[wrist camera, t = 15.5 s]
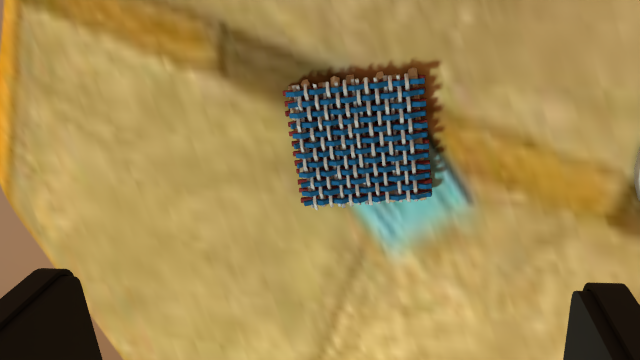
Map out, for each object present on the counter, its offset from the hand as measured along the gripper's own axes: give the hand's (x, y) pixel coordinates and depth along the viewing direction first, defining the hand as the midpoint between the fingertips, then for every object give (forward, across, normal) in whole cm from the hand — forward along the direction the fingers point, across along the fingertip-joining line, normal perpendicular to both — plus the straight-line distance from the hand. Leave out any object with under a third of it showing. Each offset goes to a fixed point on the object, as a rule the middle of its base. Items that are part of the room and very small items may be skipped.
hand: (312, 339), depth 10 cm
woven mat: (+31, +2, +6) cm, 32 cm away
